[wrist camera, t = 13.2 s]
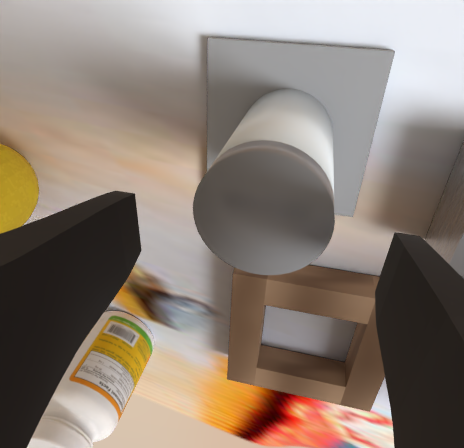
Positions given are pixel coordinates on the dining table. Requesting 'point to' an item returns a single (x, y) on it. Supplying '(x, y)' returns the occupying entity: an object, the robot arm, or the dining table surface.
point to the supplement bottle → (96, 384)
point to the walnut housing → (298, 364)
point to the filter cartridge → (271, 187)
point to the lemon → (16, 189)
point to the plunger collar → (450, 219)
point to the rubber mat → (310, 81)
